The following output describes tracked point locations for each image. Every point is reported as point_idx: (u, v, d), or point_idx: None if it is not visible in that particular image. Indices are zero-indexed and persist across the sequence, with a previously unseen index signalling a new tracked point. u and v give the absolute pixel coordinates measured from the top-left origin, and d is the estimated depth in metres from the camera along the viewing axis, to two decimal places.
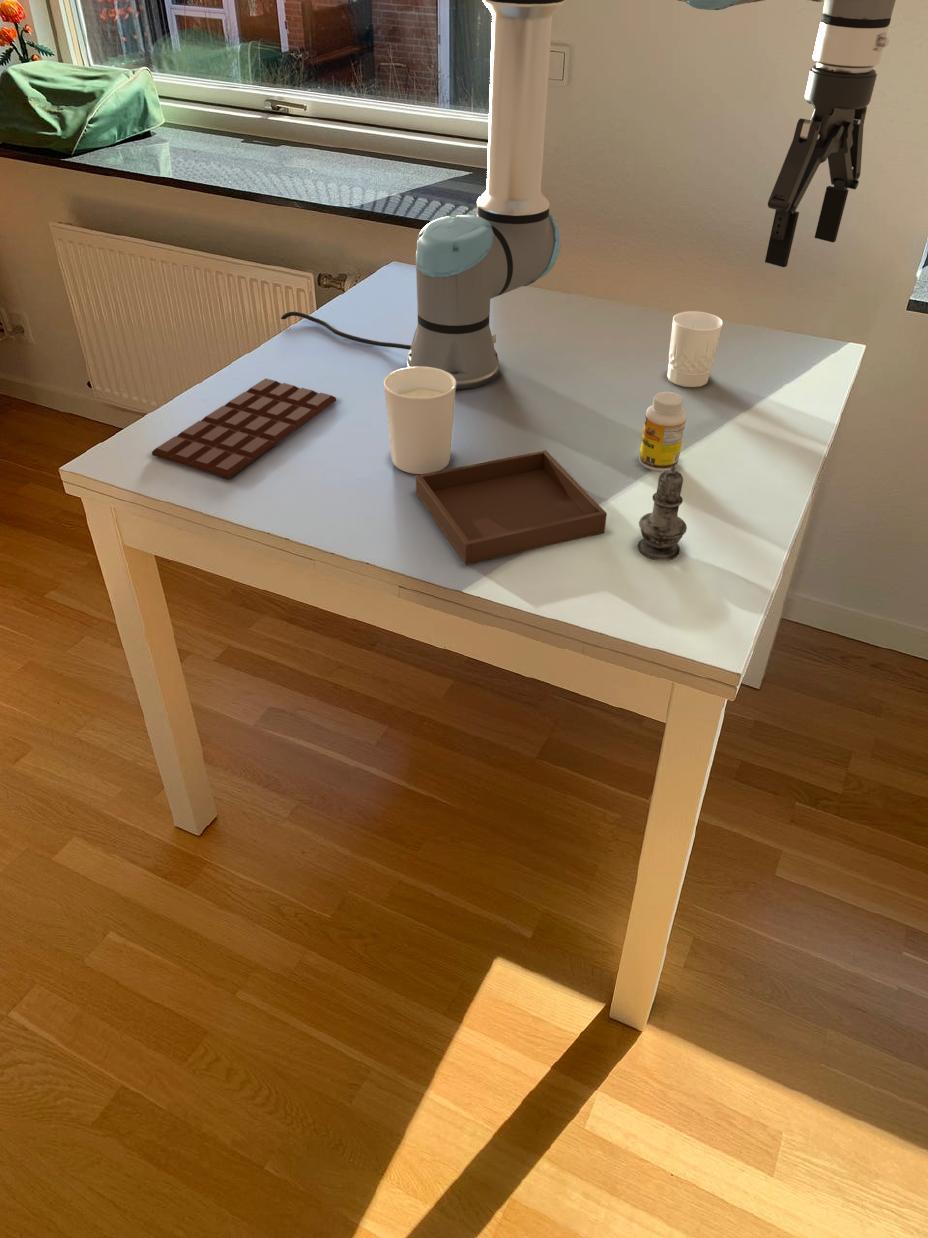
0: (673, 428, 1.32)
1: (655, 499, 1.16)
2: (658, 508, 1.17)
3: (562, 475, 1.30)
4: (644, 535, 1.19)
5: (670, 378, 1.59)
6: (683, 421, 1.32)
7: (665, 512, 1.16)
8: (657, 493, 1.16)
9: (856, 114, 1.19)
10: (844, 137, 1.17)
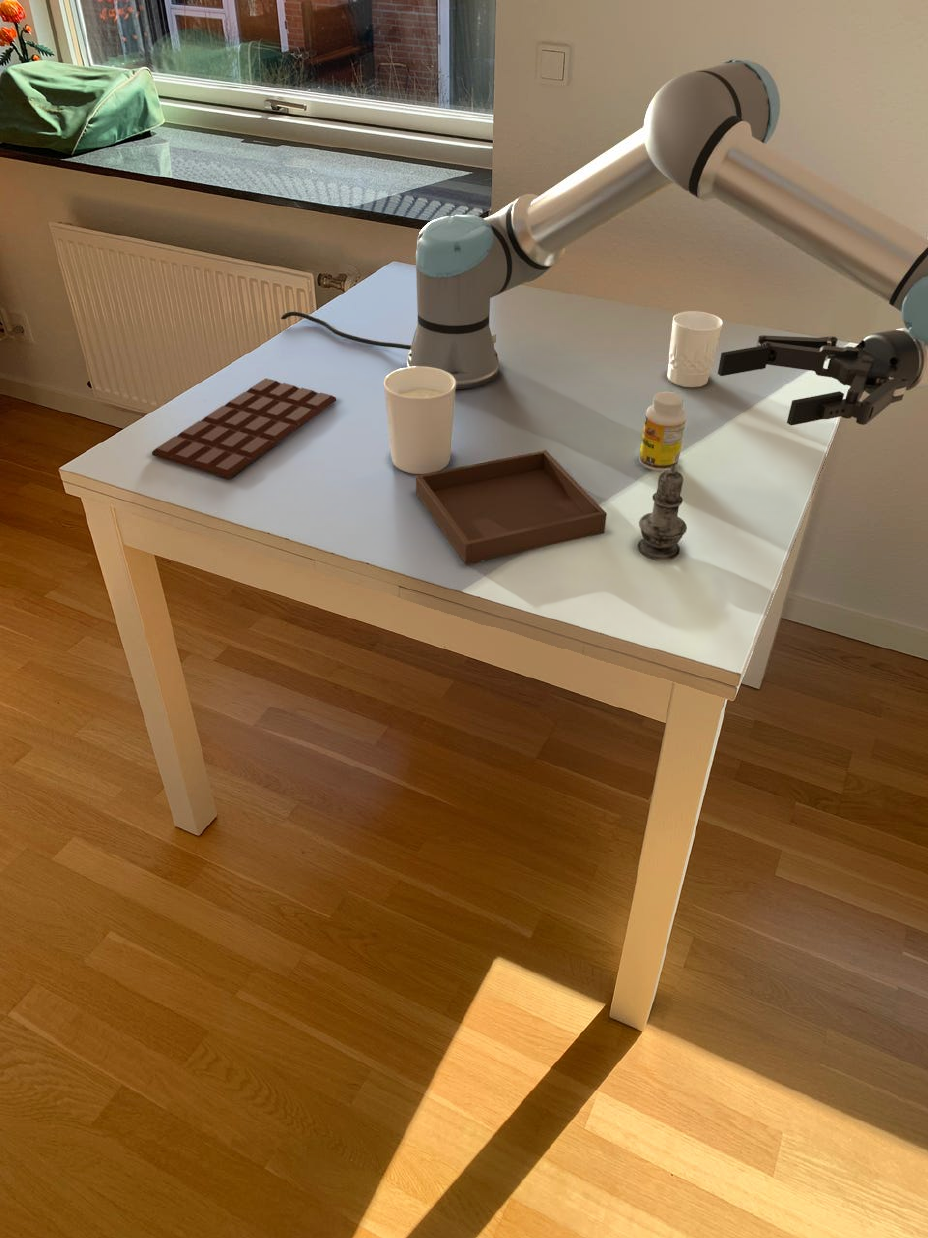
0: (673, 428, 1.32)
1: (655, 499, 1.16)
2: (658, 508, 1.17)
3: (562, 475, 1.30)
4: (644, 535, 1.19)
5: (670, 378, 1.59)
6: (683, 421, 1.32)
7: (665, 512, 1.16)
8: (657, 493, 1.16)
9: None
10: None
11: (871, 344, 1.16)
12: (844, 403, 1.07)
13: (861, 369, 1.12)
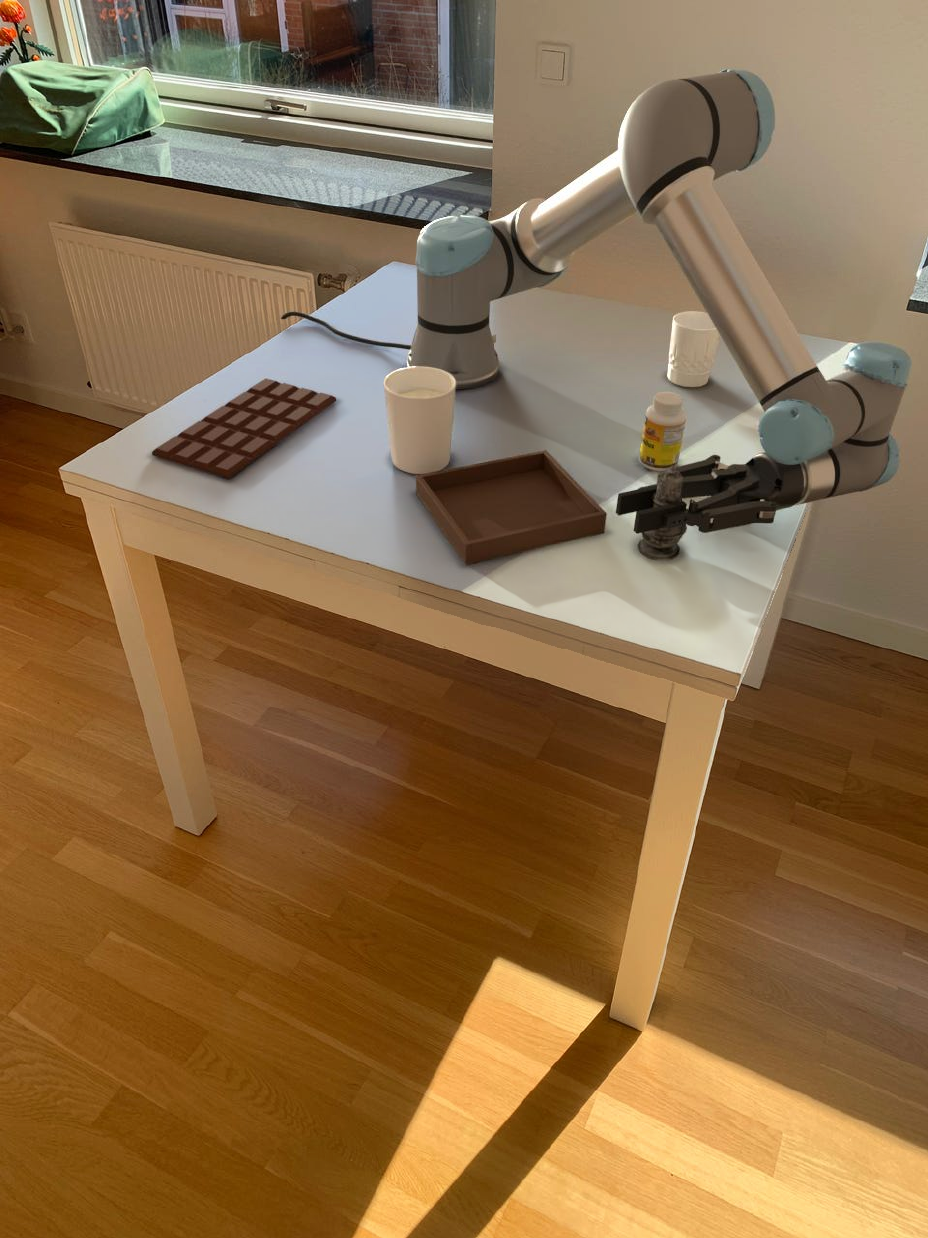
0: (673, 428, 1.32)
1: (655, 499, 1.16)
2: None
3: (562, 475, 1.30)
4: (644, 535, 1.19)
5: (670, 378, 1.59)
6: (683, 421, 1.32)
7: None
8: (657, 493, 1.16)
9: None
10: None
11: (759, 463, 1.21)
12: (686, 513, 1.15)
13: (734, 486, 1.18)
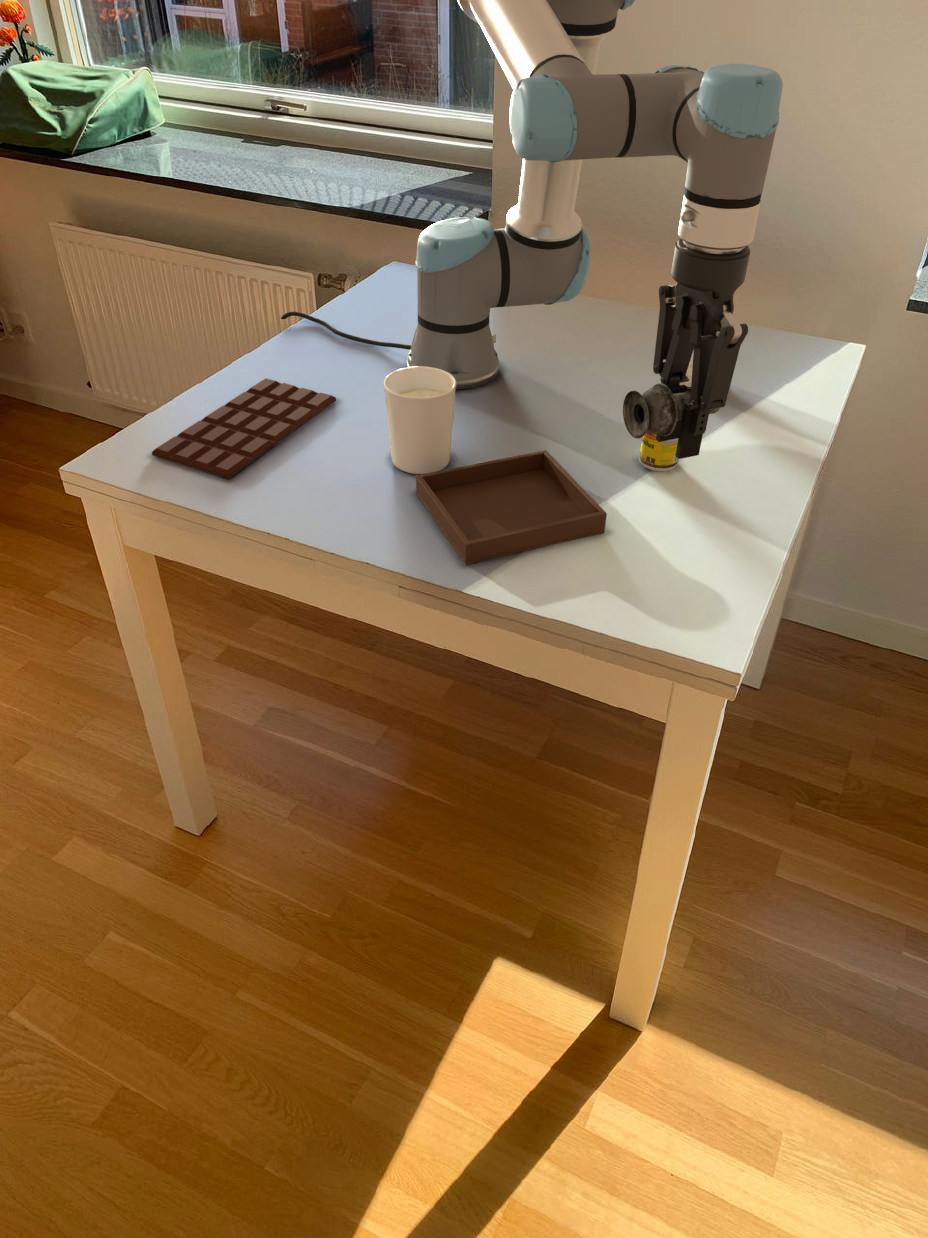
0: None
1: None
2: None
3: (562, 475, 1.30)
4: None
5: None
6: None
7: None
8: None
9: None
10: None
11: None
12: None
13: None
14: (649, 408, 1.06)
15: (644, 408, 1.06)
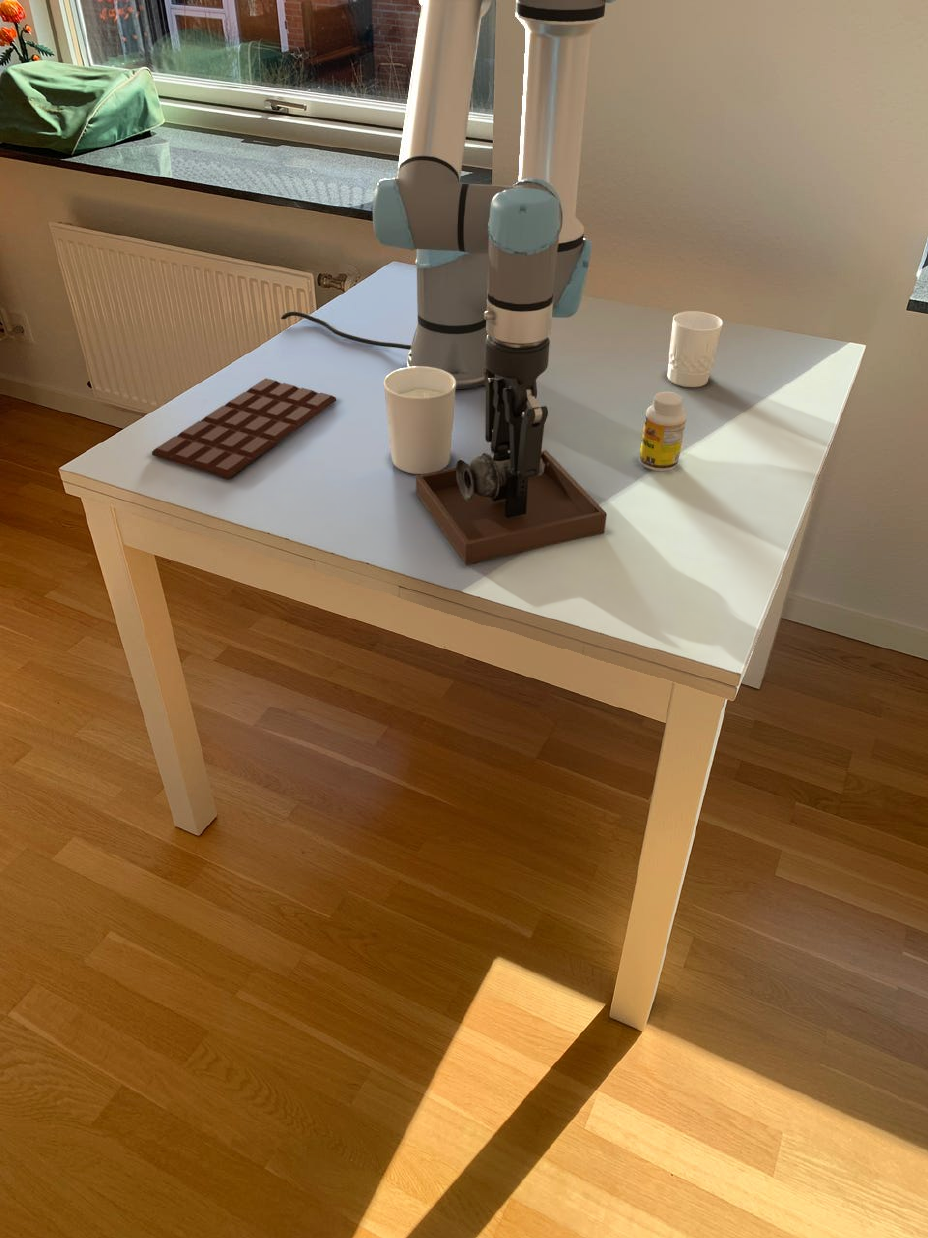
0: (673, 428, 1.32)
1: None
2: None
3: (562, 475, 1.30)
4: None
5: (670, 378, 1.59)
6: (683, 421, 1.32)
7: None
8: None
9: None
10: None
11: None
12: None
13: None
14: (475, 475, 1.20)
15: (470, 475, 1.20)
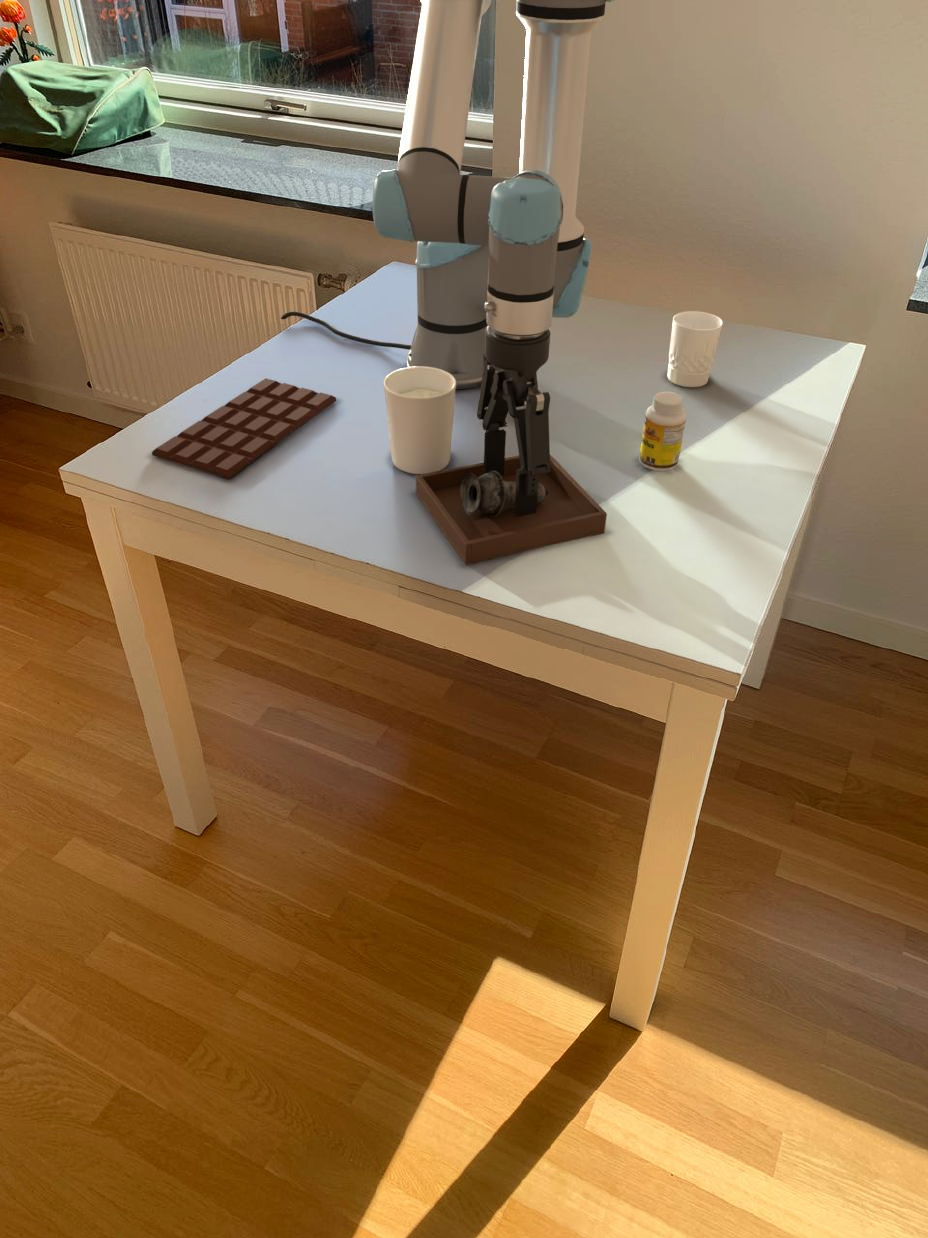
0: (673, 428, 1.32)
1: None
2: None
3: (562, 475, 1.30)
4: None
5: (670, 378, 1.59)
6: (683, 421, 1.32)
7: None
8: None
9: None
10: None
11: None
12: None
13: None
14: (482, 489, 1.22)
15: (477, 489, 1.22)
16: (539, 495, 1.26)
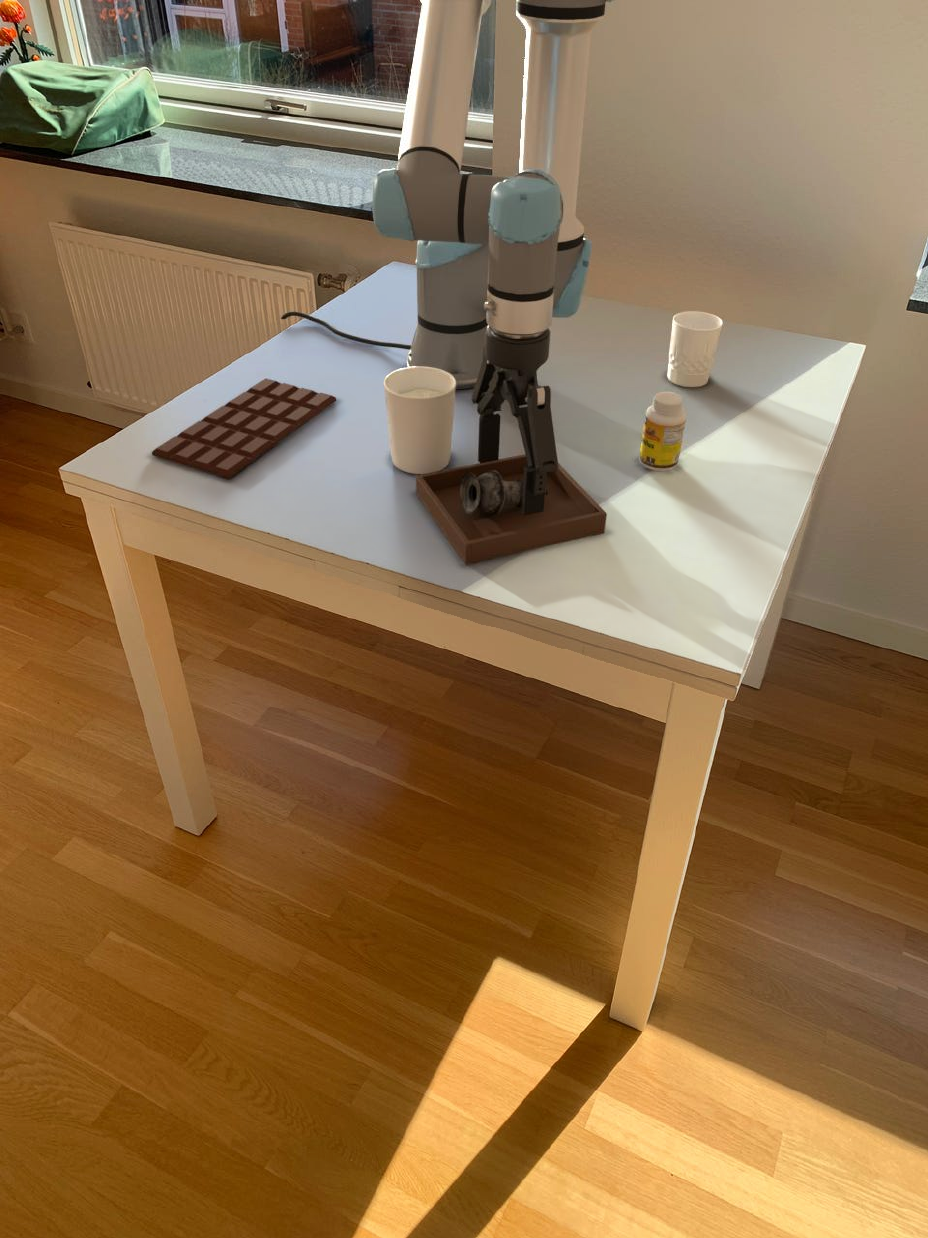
0: (673, 428, 1.32)
1: None
2: None
3: (562, 475, 1.30)
4: None
5: (670, 378, 1.59)
6: (683, 421, 1.32)
7: None
8: None
9: None
10: None
11: None
12: None
13: None
14: (481, 489, 1.22)
15: (477, 488, 1.22)
16: None
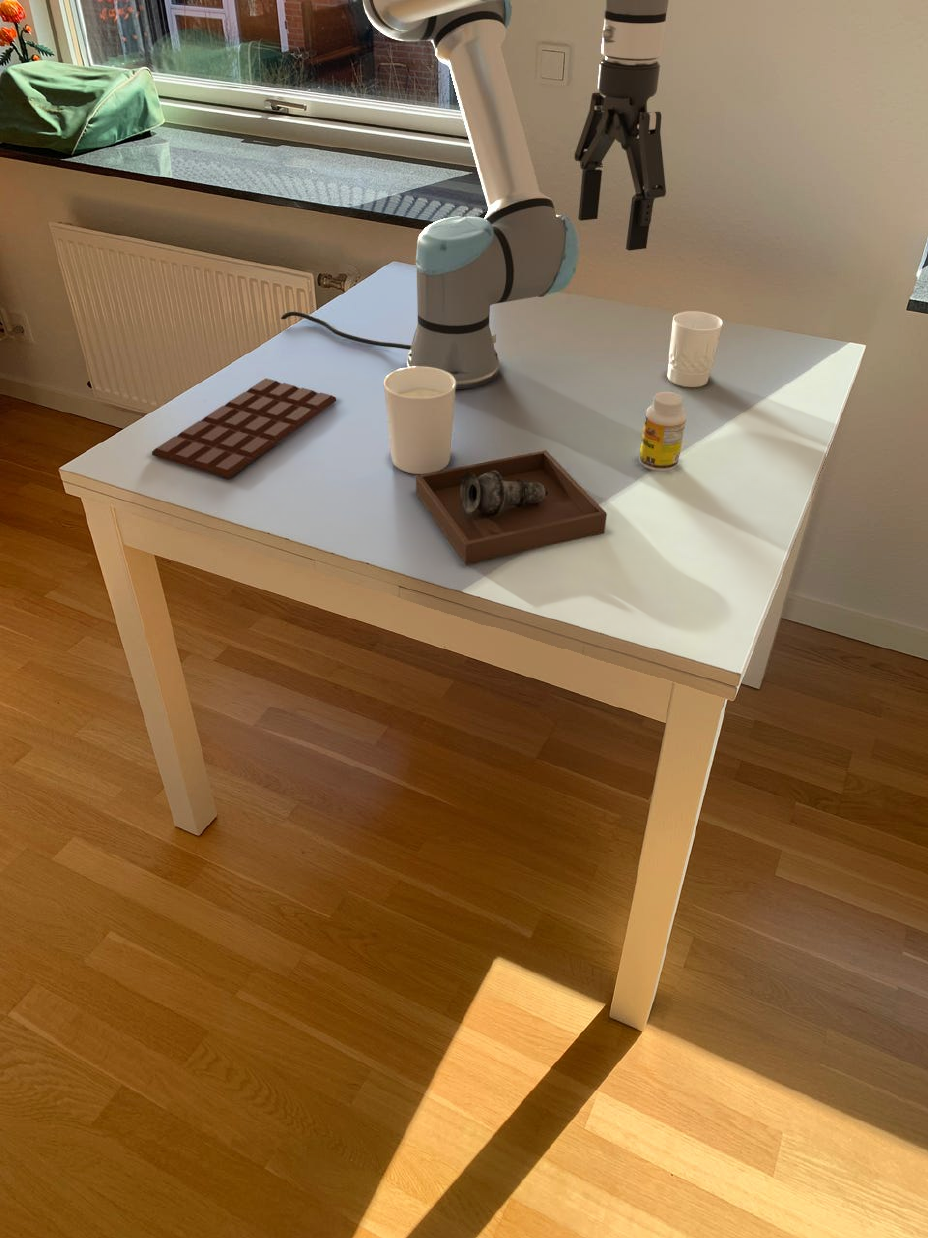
0: (673, 428, 1.32)
1: None
2: None
3: (562, 475, 1.30)
4: None
5: (670, 378, 1.59)
6: (683, 421, 1.32)
7: None
8: None
9: None
10: None
11: None
12: None
13: None
14: (481, 489, 1.22)
15: (477, 488, 1.22)
16: (539, 495, 1.26)
